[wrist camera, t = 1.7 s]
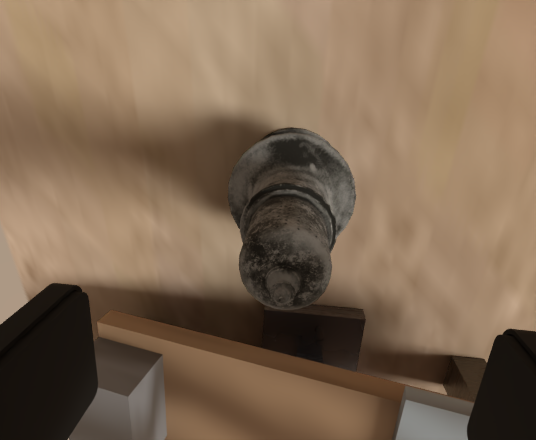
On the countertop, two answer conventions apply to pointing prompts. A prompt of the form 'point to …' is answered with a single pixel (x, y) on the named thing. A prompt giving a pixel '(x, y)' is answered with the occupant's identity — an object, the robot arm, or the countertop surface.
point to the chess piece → (289, 215)
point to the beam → (246, 393)
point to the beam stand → (348, 343)
